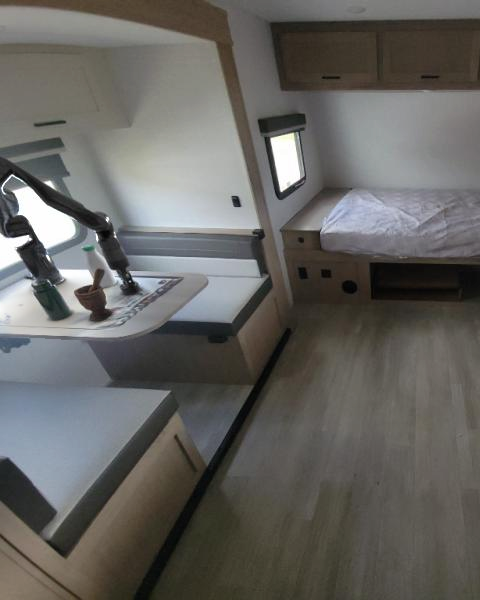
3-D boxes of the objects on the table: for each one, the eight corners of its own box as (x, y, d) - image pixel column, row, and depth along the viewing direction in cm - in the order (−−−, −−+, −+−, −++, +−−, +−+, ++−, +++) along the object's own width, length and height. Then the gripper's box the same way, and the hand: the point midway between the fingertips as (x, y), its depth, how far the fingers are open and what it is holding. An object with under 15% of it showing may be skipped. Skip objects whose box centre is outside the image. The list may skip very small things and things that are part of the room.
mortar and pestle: (111, 305, 146) (89, 264, 135) (126, 308, 144) (106, 267, 134) (84, 319, 137) (58, 277, 126) (100, 323, 135) (76, 280, 124)
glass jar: (45, 318, 137) (22, 285, 128) (63, 309, 142) (43, 277, 134) (58, 321, 135) (36, 287, 127) (76, 312, 141) (56, 279, 133)
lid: (135, 286, 161) (132, 280, 159) (143, 290, 158) (141, 283, 156) (119, 292, 155) (116, 286, 154) (127, 296, 153) (124, 289, 151)
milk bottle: (121, 281, 165) (102, 243, 154) (108, 288, 158) (88, 250, 147) (106, 279, 165) (87, 242, 155) (93, 287, 159) (72, 249, 148)
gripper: (131, 259, 146) (145, 291, 155) (120, 250, 154) (134, 281, 162) (110, 264, 141) (127, 297, 150) (100, 255, 149) (116, 287, 157)
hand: (131, 289), depth 156 cm, fingers closed on lid, 7 cm apart
